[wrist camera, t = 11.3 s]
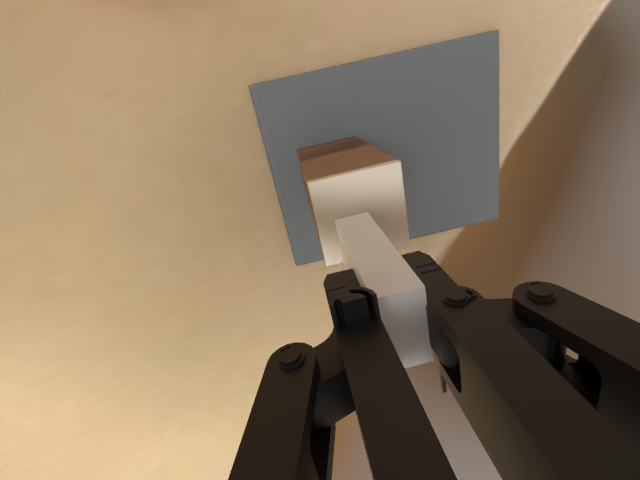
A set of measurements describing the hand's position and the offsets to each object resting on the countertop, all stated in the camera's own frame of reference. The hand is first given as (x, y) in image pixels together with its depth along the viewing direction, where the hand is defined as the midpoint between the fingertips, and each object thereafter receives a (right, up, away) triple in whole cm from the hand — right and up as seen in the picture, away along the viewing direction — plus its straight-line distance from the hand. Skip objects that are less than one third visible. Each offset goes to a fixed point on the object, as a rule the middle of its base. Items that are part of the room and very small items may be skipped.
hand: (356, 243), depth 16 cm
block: (-1, +6, +14) cm, 16 cm away
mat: (+4, +7, +15) cm, 17 cm away
